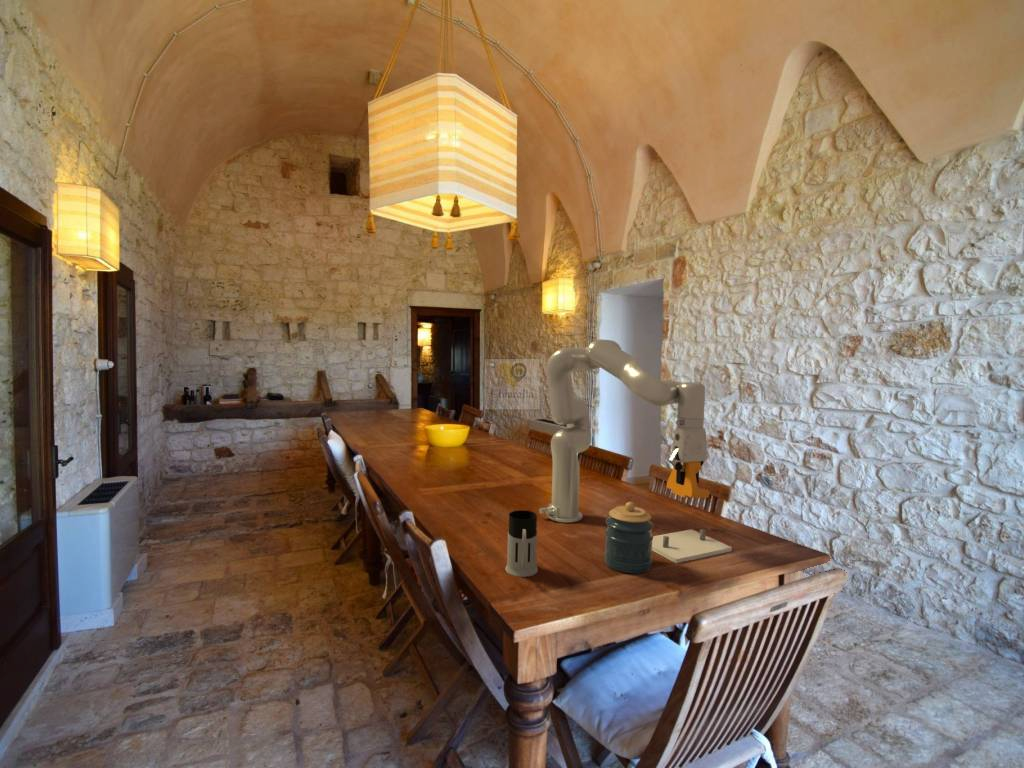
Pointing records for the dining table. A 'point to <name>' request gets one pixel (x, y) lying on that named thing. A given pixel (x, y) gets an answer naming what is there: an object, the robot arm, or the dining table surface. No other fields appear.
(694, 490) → the bracket
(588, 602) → the dining table surface
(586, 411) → the robot arm
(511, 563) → the glass holder
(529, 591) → the dining table surface
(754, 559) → the dining table surface
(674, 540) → the locating board
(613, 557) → the canister
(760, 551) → the dining table surface
